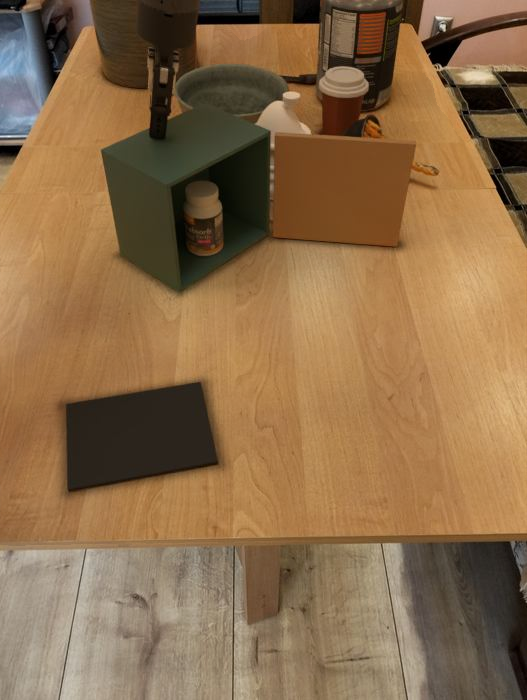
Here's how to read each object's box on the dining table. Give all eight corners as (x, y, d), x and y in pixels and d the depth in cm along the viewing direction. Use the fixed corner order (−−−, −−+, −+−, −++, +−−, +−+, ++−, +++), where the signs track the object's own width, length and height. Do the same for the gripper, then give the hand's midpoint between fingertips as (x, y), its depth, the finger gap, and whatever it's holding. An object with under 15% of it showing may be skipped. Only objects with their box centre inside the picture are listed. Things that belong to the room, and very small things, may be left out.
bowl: (250, 104, 133) (249, 55, 126) (308, 146, 121) (311, 93, 114) (160, 129, 125) (154, 77, 118) (212, 176, 113) (209, 122, 106)
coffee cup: (344, 152, 119) (350, 88, 111) (305, 137, 123) (309, 74, 115) (371, 135, 124) (380, 72, 116) (333, 121, 128) (339, 59, 120)
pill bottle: (181, 254, 96) (175, 196, 89) (193, 233, 100) (188, 175, 93) (217, 260, 95) (214, 202, 88) (228, 238, 99) (226, 181, 92)
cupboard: (269, 234, 101) (270, 130, 89) (179, 292, 91) (166, 184, 78) (211, 203, 107) (205, 102, 95) (120, 255, 97) (100, 149, 85)
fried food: (353, 117, 119) (449, 107, 109) (355, 179, 122) (449, 174, 112) (330, 116, 112) (431, 105, 102) (333, 182, 115) (431, 176, 105)
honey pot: (324, 187, 111) (332, 82, 98) (301, 227, 102) (307, 118, 89) (254, 173, 114) (253, 70, 101) (226, 211, 105) (222, 104, 92)
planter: (194, 90, 138) (187, -13, 124) (92, 89, 138) (72, -15, 124) (203, 51, 154) (198, -45, 139) (111, 50, 154) (96, -46, 140)
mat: (68, 492, 68) (67, 489, 67) (66, 406, 76) (65, 403, 75) (218, 464, 70) (217, 461, 70) (200, 384, 78) (200, 381, 78)
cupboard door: (276, 215, 104) (279, 115, 92) (396, 224, 103) (414, 123, 91) (272, 237, 100) (274, 135, 88) (397, 246, 98) (416, 144, 86)
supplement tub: (349, 76, 144) (362, -57, 126) (404, 99, 136) (427, -40, 117) (299, 96, 136) (305, -43, 118) (354, 122, 128) (370, -23, 110)
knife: (212, 76, 146) (209, 83, 142) (212, 68, 145) (208, 75, 141) (336, 77, 144) (336, 85, 140) (336, 69, 143) (337, 76, 139)
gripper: (138, -26, 83) (131, 96, 94) (136, 13, 73) (128, 144, 84) (196, -15, 84) (182, 104, 95) (202, 24, 74) (185, 152, 85)
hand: (157, 123), depth 90 cm, fingers open, 8 cm apart
